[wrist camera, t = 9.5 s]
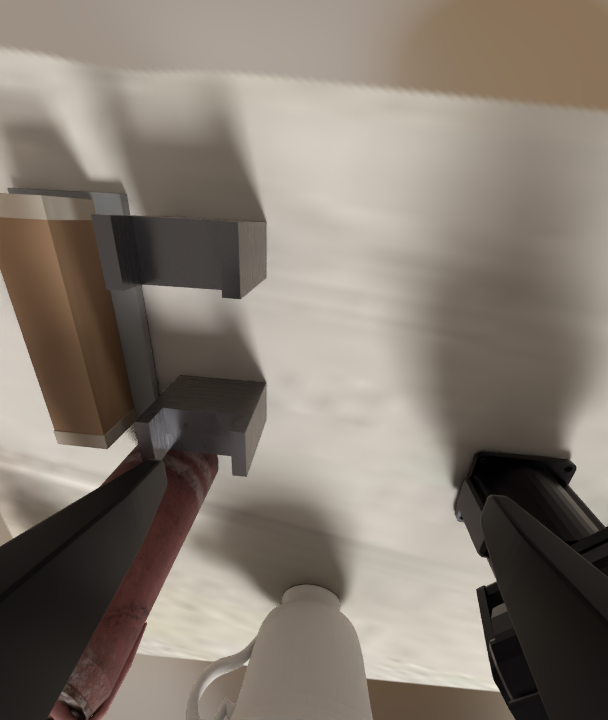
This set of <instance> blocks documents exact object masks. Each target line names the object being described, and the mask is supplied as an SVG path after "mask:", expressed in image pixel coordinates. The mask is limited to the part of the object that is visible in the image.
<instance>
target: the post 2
mask: <svg viewBox="0 0 608 720" xmlns="http://www.w3.org/2000/svg"><path fill="white" fill-rule="evenodd" d="M265 422H266V383H262V382H250V381H239V380H228V379H216V378H205V377H193V376H182V375H180V376H179V377H178V378H177V379H176V380H175V381H174V382H173V383H172V384H171V385H170V386H169V387H168V388H167V389H166V390H165V391H164V392H163V393H162V394H161V395H160V396H159V397H158V398H157V399H156V400H155V401H154V402H153V403H152V404H151V405H150V406H149V407H148V408H147V409H146V410H145V411H144V412H143V413H142V414H141V415H140V416H139V417H138V418H137V419H136V420H135V421H134V424H135V429H136V434H137V439H138V444H139V449H140V453H141V458H142V462H143V461H144V460H146V459H159V460H162V459H163V458H164V456H165V455H166V453H167V452H168V451H169V450H179V451H188V452H198V453H208V454H217V455H227V456H231V457H232V474H233V475H235V476H244V477H247V474H248V471H249V468H250V466H251V463H252V460H253V457H254V454H255V451H256V448H257V445H258V443H259V440H260V437H261V434H262V431H263V428H264V425H265Z"/></svg>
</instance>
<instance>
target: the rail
mask: <svg viewBox="0 0 608 720" xmlns="http://www.w3.org/2000/svg"><path fill="white" fill-rule="evenodd" d="M91 214H96V212H95V207H94V202H93V200H89V199H77V198H66V197H55V196H43V195H25V194H5V193H0V270H1V273H2V276H3V278H4V281H5V284H6V287H7V290H8V293H9V296H10V299H11V302H12V305H13V308H14V311H15V314H16V317H17V320H18V323H19V326H20V329H21V332H22V335H23V338H24V341H25V343H26V346H27V349H28V352H29V355H30V358H31V361H32V364H33V367H34V370H35V373H36V376H37V379H38V382H39V385H40V388H41V391H42V394H43V397H44V400H45V403H46V405H47V408H48V411H49V414H50V417H51V420H52V423H53V426H54V429H55V430H54V434H55V437H56V440H57V442H58V444H63V445H73V446H83V447H92V448H102V449H108V448H109V447H110V446H111V445H112V444H113V443H114V442H115V441H116V440H117V439H118V438H119V437H120V436H121V435H122V434H123V433H124V432H125V431H126V430H127V429H128V428H129V427H130V426H131V425H132V424H133V423H134V421H135V420H136V419H137V414H136V409H135V407H134V405H133V400H132V395H131V390H130V385H129V380H128V375H127V370H126V366H125V361H124V356H123V351H122V346H121V341H120V336H119V331H118V327H117V322H116V317H115V312H114V307H113V302H112V297H111V292H110V290H108V289H106V285H105V280H104V275H103V271H102V266H101V261H100V256H99V251H98V247H97V242H96V237H95V232H94V227H93V223H92V218H91Z"/></svg>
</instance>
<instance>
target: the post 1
mask: <svg viewBox="0 0 608 720" xmlns="http://www.w3.org/2000/svg"><path fill="white" fill-rule="evenodd" d="M91 218H92V223H93V227H94V232H95V237H96V242H97V247H98V251H99V256H100V261H101V266H102V271H103V275H104V280H105V285H106V289H108V290H122V291H124V290H127V289H130V288H134V287H137V286H140V285H143V284H145V285H159V286H174V287H188V288H202V289H217V290H222V298H234V299H241V298H242V297H244V296H245V295H246V294H247V293H249V292H250V291H251V290H252V289H253V288H255V287H256V286H257V285H258V284H259V283H261V282H262V281H263V280H264V279H266V222H258V221H240V220H221V219H203V218H185V217H167V216H138V215H104V214H91Z"/></svg>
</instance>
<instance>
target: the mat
mask: <svg viewBox="0 0 608 720" xmlns="http://www.w3.org/2000/svg"><path fill="white" fill-rule="evenodd" d="M8 192H9V194H25V195H43V196H55V197H66V198H77V199H89V200H93V202H94V207H95V212H96V214H104V215H130V213H129V207H128V200H127V194H119V193H99V192H79V191H60V190H40V189H20V188H8ZM110 292H111V297H112V302H113V307H114V312H115V317H116V322H117V327H118V331H119V336H120V341H121V346H122V351H123V356H124V361H125V366H126V370H127V375H128V380H129V385H130V390H131V395H132V400H133V405H134V407H135V409H136V414H137V418H138V417H139V416H140V415H141V414H142V413H143V412H144V411H145V410H146V409H147V408H148V407H149V406H150V405H151V404H152V403H153V402H154V401H155V400H156V399H157V398H158V397H159V392H158V386H157V380H156V373H155V367H154V361H153V355H152V349H151V343H150V336H149V330H148V324H147V318H146V312H145V305H144V299H143V293H142V287H141V285H140V286H137V287H134V288H130V289H127V290H124V291H122V290H110Z"/></svg>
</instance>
